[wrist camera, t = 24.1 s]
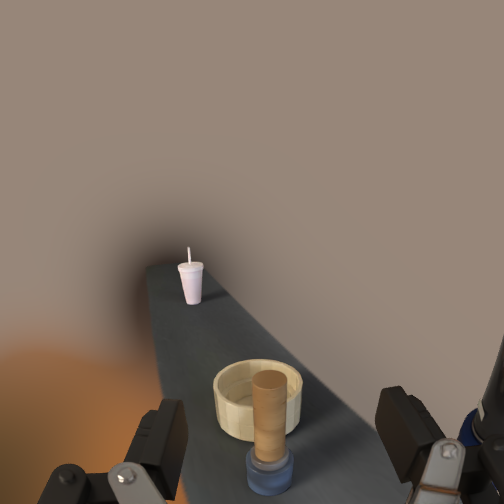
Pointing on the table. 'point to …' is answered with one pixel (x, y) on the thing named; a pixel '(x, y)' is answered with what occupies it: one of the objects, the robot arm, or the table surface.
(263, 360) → the bowl
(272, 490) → the brush
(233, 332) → the table surface
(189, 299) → the smoothie
